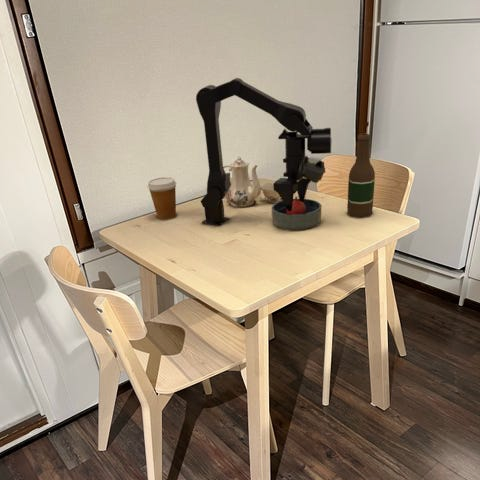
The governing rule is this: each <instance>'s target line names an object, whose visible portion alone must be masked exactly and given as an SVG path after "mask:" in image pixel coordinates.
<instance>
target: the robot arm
mask: <svg viewBox="0 0 480 480" xmlns="http://www.w3.org/2000/svg"><path fill="white" fill-rule="evenodd" d="M234 96H235V97H237V98H240V99H241V100H243V101H245V102H247V103H249V104H250V105H252V106H254V107H256V108H257V109H259V110H261V111H263V112H265V113H267V114H269V115H270V116H271V117H273V118H274V119H275V120H276V121H277V122H278V123H279V124H280V125H281V126H283V127H284V128H283V130H282V132H281V133H280V134H279V135H278V137H277V138H278V140H284V144H285V145H284V146H285V147H284V148H285V157H284V158H283V159H282V163H284V164H285V172H282V173H283V176H282V177H280V178H279V179H277V180H275V181H274V182H273V183H272V185H273V189H274V191H276V192H277V193H278V194H279V196H280V199H282V200H281V201H283V202H284V204H285V206H286V208H287V210H288V211H292V205H293V199H294V195H295V194H296V193H297V196H298V199H300V201H301V202H303V201H304V199H306V195H307V192H308V187H309V185H310V183H311V182H312V183H314V184H317V183H319V182H320V181H321V180H322V179H323V176H324V174H325V173H326V167H325V162H324V161H323V160H318V161H317V162H310V160H309V159H310V158H309V157H308V155H306V150H307V151H308V152H310V154H311V155H314V154H315V155H316V154H317V155H318V154H319V155H320V154H322V155H323V154H332V143H333V139H332V128H331V127H324V128H313V126H312V125H311V123H310V122H309V120H308V119H307V114H306V111H305V109H304V108H303V107H301V106H299V105H296V104H293V103H289V102H284V101H281V100H279V99H276V98H275V97H273V96H271V95H269V94H267V93H266V92H264V91H262V90H260V89H259V88H256V87H255V86H252V85H251V84H250V83H247V82H245V81H243V79H242V78H240V77H236V78H233V79H231V80H230V81H227V82H224V83H221V84H219V85H217V86H216V85H214V84H210V85H205V86H204V87H201V88H200V89H199V90H198V92H197V93H196V95H195V101H196V105H197V108H198V109H197V110H198V113H199V114H200V116H201V119H202V121H203V125H204V126H203V127H204V135H205V143H206V153H207V162H208V163H207V164H208V175H207V182H206V194H205V195H204V196H203V197H202V198H201V200H200V203H201V206H202V208H204V217H205V219H204V220H202V221H201V223H202V224H204V225H212V226H220V225H222V224H224V223H225V222H226V221H228V220H229V216H226V215H225V207H224V206H225V205H224V198H225V197H226V196H227V192H228V191H229V188H230V186H231V183H230V178H231V173H230V172H226V170H225V168H223V167H224V161H223V153H222V141H221V131H220V120H219V119H220V113H221V109H222V101H224V100H227V99H229V98H232V97H234ZM306 141H307V142H306Z"/></svg>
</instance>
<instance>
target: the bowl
mask: <svg viewBox="0 0 480 480" xmlns="http://www.w3.org/2000/svg"><path fill="white" fill-rule="evenodd" d="M294 200H295V198H293V201H294ZM297 200H299V201H300V199H299V198H297ZM303 203H304V204H305V206H306V213H305V214H287V208H286V206H285V204H284V202H283V201H282V200H278V202H275V203H273V204H272V206H271V208H270V211H271V213H270V214H271V222H272V224H273V225H274V226H275V227H277V228H278V229H282V230H288V231H300V230H301V231H302V230H308V229H311V228H314V227H316V226H317V225H319V223H320V222H321V221H322V207H323V206H322V204H321V202H319V201H317V200H315V199H310V198H305V199H304V201H303Z"/></svg>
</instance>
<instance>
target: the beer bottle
mask: <svg viewBox="0 0 480 480" xmlns="http://www.w3.org/2000/svg"><path fill="white" fill-rule="evenodd" d="M370 139H371V134H370V133H365V132H364V133H360V134H358V135H357V148H356V149H357V150H356V156H355V162H354V164H353V165H352V166H351V168H350V171H349V173H348V180H347V181H348V183H347V204H346V205H347V207H346V208H347V209H346V210H347V211H346V212H347V214H348V215H349V216H350V217H353V218H367V217H369V216H370V215H372V213H373V207H374V198H375V197H374V195H375V194H374V193H375V181H376V172H375V169H374V167H373V165H372V163H371V158H370Z"/></svg>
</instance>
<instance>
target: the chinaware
mask: <svg viewBox="0 0 480 480" xmlns="http://www.w3.org/2000/svg"><path fill="white" fill-rule="evenodd" d="M249 165H250V162H247V161H245V160H244V159H242V157H241V156H240V155H238V156H237V157H236V159H235V161H233V163H230V164H228V165H226V164H225V165H223V168H224V169H225V168H228V171H229V172H231V173H232V174H231V176H230V183H231V186H230V188H229V191H228V192H227V194H226V195H225V197H226V200H227V201H228V202H229V203H230V205H231V207H234V208H235V207H236V208H245V207H250V206H253V205H254V204H255V200H256V199H257V198H258V197H259V196H260V195H261V190H262V194H263V196H264V197H265V199H267V200H268V203H273V204H275V203H277V202H279V201H282V199H281V197H280V196H279V194H278V193H277V192H276V191H274V189H273V183H271V182H266V183H264V184H263V185H261V183H260V180H259V177H258V175H257V168H258V165H257V164H255V165H253V167H252V168H251V179H252V183H251V179H250V176H249Z"/></svg>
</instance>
